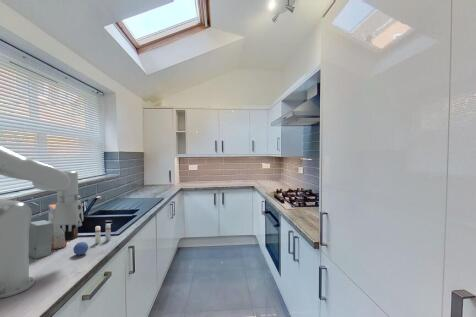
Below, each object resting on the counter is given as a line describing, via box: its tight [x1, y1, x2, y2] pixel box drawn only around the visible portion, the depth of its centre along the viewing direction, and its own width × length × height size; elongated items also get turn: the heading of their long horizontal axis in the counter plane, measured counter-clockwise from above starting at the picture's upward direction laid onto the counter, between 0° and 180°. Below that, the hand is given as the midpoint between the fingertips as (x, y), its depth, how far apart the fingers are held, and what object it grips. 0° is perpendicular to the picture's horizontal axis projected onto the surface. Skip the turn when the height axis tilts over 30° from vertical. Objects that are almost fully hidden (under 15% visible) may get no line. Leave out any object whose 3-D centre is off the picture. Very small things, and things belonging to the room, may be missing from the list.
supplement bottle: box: [72, 227, 79, 240], centre depth 137 cm, size 6×6×11 cm
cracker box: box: [48, 203, 67, 250], centre depth 127 cm, size 14×6×21 cm, turn 46°
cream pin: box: [94, 225, 101, 245], centre depth 130 cm, size 2×2×9 cm
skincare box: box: [29, 219, 53, 260], centre depth 114 cm, size 8×7×16 cm
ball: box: [73, 241, 89, 256], centre depth 115 cm, size 6×6×6 cm
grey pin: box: [105, 223, 112, 242], centre depth 134 cm, size 2×2×9 cm
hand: (69, 239), depth 106 cm, fingers closed
